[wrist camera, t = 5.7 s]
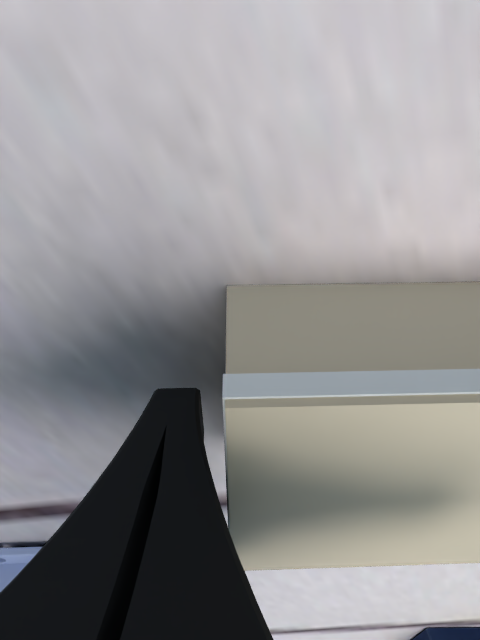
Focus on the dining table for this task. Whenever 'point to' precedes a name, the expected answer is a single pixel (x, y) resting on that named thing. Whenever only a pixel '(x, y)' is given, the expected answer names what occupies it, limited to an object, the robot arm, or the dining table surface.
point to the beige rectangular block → (353, 424)
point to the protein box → (449, 634)
